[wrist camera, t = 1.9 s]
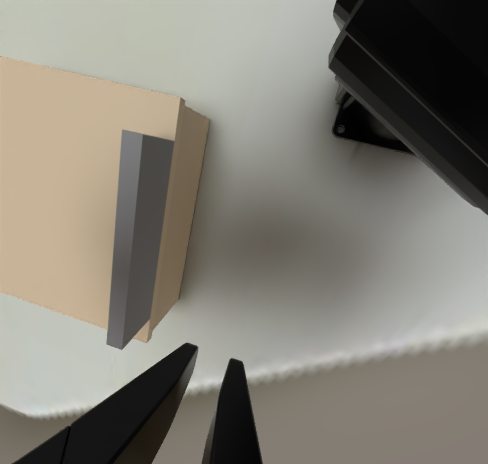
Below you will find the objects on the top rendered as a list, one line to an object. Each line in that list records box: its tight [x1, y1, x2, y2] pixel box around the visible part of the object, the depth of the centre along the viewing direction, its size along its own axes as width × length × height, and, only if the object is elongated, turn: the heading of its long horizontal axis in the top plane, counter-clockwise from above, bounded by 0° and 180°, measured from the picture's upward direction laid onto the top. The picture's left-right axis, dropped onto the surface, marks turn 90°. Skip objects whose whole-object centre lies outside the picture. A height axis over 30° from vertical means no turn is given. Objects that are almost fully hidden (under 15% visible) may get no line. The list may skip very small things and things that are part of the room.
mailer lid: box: [0, 56, 185, 350], centre depth 15 cm, size 14×16×4 cm
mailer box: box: [152, 105, 210, 331], centre depth 19 cm, size 14×16×5 cm
